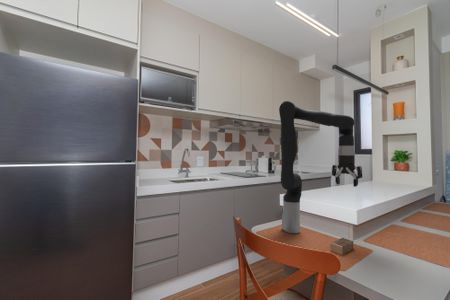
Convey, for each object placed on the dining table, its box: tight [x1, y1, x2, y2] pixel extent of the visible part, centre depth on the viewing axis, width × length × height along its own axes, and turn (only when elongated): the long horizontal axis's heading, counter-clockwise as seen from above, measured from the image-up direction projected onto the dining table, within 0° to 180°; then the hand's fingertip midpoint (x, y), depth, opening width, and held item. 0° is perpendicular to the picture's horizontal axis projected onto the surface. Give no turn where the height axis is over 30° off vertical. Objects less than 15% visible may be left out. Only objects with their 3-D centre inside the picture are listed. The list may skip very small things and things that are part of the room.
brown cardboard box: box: [329, 237, 354, 256], centre depth 96 cm, size 5×4×11 cm
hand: (346, 185), depth 109 cm, fingers open, 8 cm apart
